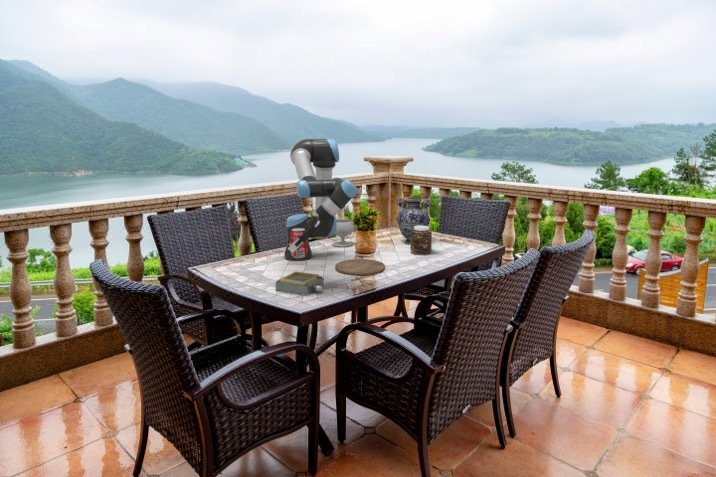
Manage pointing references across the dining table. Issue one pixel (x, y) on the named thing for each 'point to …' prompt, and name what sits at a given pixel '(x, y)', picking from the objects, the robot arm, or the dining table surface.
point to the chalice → (344, 231)
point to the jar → (421, 240)
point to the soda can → (302, 249)
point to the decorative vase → (412, 215)
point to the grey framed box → (300, 283)
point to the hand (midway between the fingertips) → (290, 248)
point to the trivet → (359, 267)
